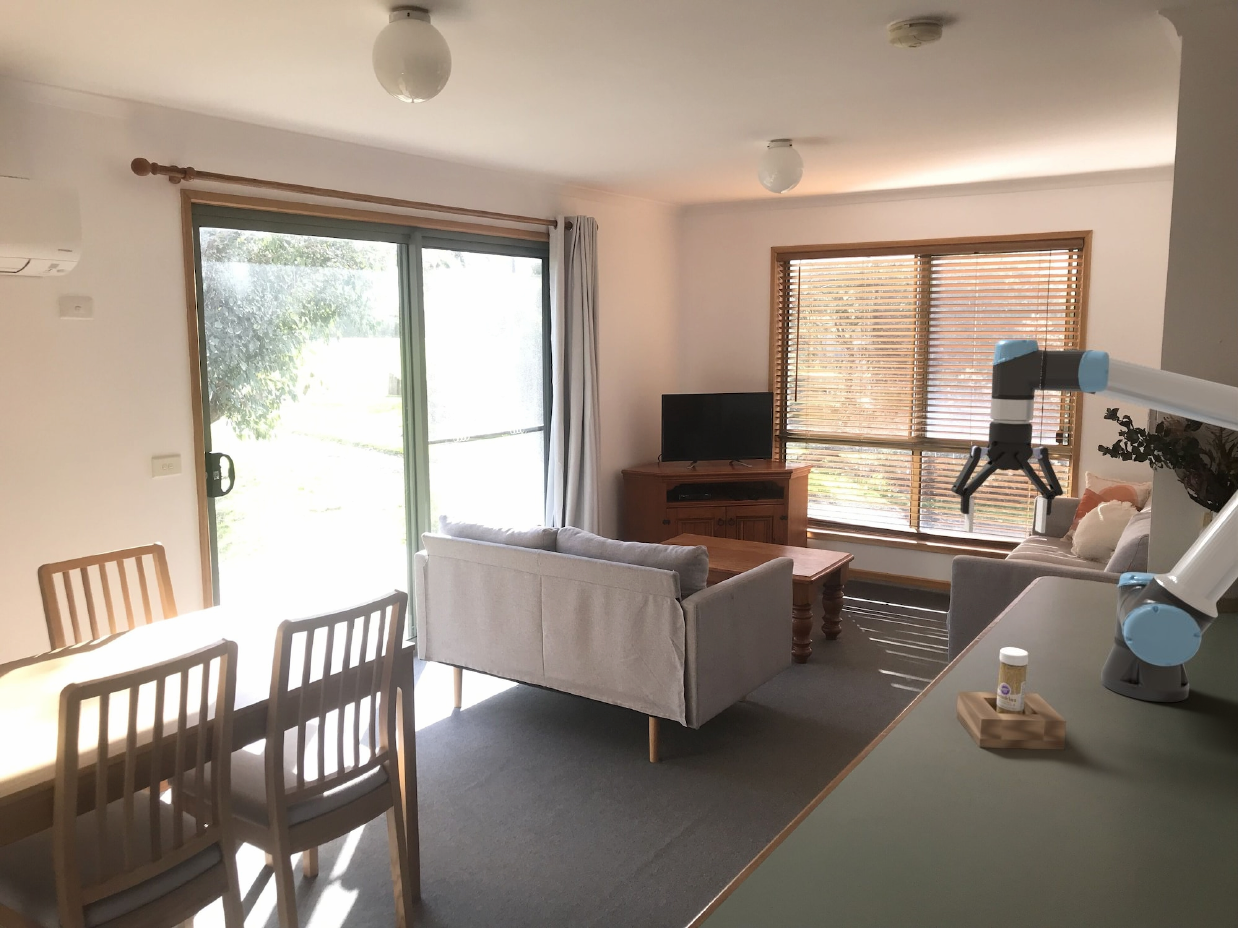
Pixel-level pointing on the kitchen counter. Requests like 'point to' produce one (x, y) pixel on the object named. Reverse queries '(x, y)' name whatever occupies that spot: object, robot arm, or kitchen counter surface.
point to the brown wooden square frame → (1011, 722)
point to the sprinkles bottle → (1012, 681)
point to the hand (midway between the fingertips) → (1004, 531)
